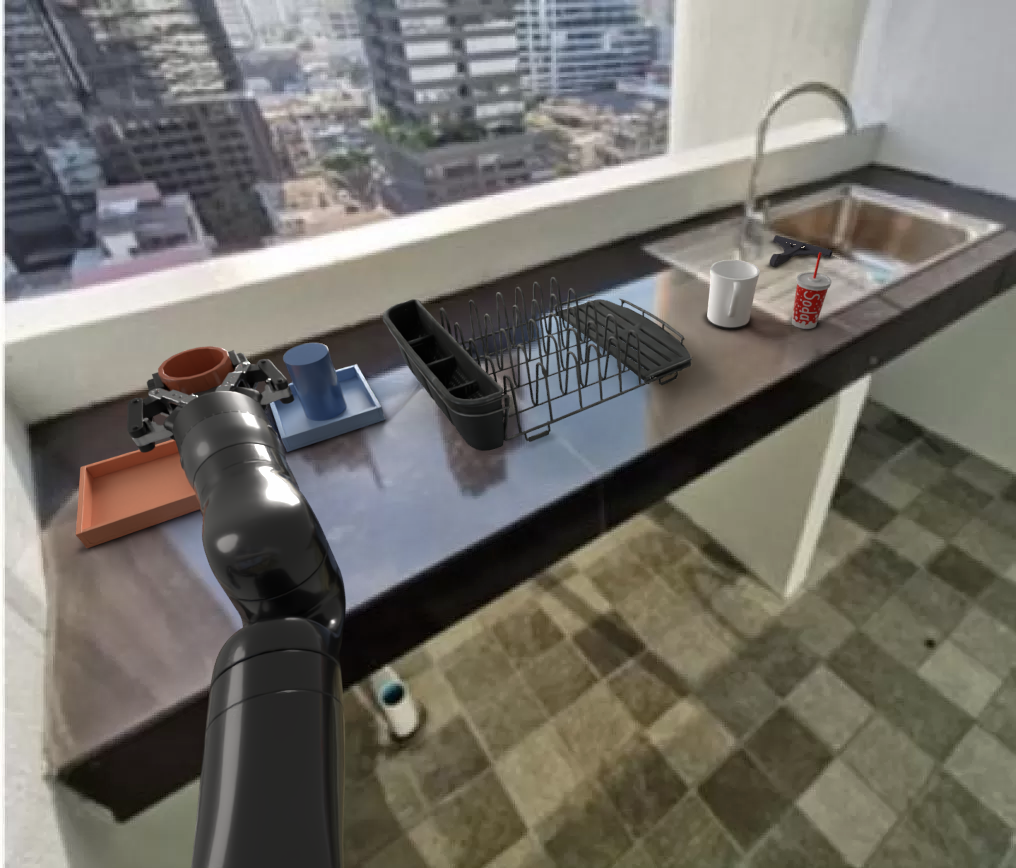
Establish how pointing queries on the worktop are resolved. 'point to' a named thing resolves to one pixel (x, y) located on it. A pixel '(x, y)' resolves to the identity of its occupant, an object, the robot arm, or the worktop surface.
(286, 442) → the blue tray
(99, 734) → the worktop surface
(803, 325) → the beverage cup
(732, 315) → the mug
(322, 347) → the blue upright cylinder
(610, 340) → the dish rack
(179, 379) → the terracotta cup
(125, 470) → the terracotta tray
